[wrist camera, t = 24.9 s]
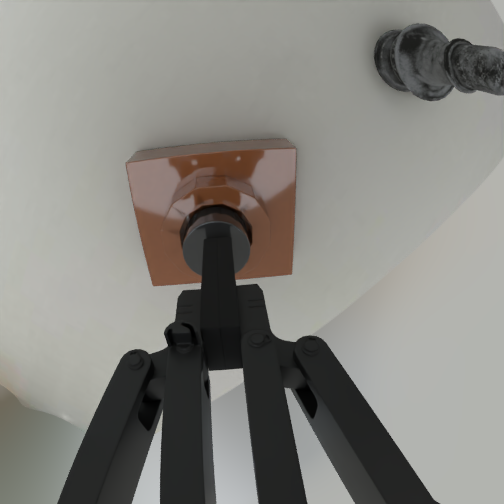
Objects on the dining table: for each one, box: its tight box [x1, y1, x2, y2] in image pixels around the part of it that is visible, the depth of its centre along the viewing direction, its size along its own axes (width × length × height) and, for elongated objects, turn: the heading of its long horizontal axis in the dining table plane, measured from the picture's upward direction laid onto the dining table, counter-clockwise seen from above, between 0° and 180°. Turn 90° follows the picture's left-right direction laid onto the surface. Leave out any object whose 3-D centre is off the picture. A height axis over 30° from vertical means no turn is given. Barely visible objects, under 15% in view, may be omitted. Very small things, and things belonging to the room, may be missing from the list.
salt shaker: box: [374, 23, 504, 101], centre depth 13 cm, size 6×6×12 cm
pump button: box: [182, 207, 251, 276], centre depth 19 cm, size 4×4×2 cm
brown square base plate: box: [126, 139, 297, 286], centre depth 21 cm, size 11×10×5 cm
